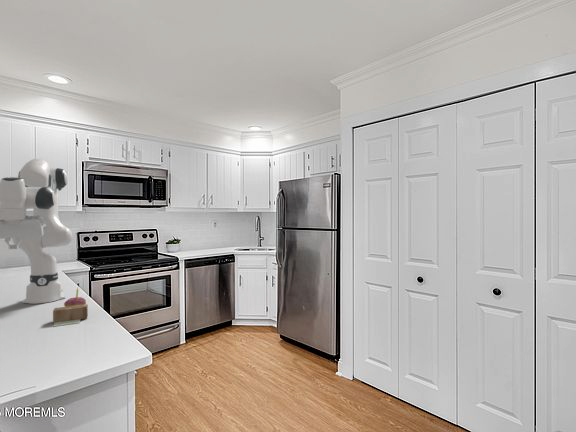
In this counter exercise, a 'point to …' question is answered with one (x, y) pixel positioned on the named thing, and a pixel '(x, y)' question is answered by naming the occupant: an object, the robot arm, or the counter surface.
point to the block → (70, 313)
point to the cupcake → (75, 301)
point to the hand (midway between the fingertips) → (13, 249)
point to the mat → (66, 322)
